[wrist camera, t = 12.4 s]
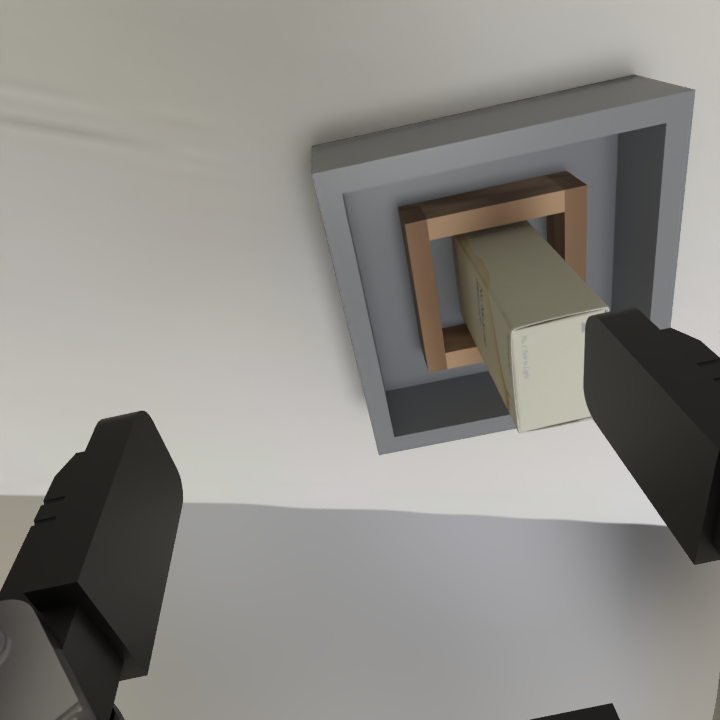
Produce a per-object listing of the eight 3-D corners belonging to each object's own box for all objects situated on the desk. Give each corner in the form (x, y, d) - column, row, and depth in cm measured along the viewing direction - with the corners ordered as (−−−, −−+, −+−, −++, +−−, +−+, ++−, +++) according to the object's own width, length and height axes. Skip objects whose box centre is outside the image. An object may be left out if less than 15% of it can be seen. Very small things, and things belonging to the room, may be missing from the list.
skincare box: (449, 226, 35) (505, 324, 24) (523, 209, 34) (612, 301, 24) (460, 317, 38) (515, 438, 28) (528, 303, 38) (608, 418, 27)
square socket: (421, 348, 39) (428, 372, 36) (397, 206, 34) (404, 224, 31) (567, 318, 38) (585, 341, 36) (566, 170, 33) (587, 185, 31)
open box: (371, 399, 42) (378, 455, 37) (312, 146, 33) (311, 174, 27) (620, 350, 41) (662, 399, 36) (634, 74, 32) (695, 89, 27)
